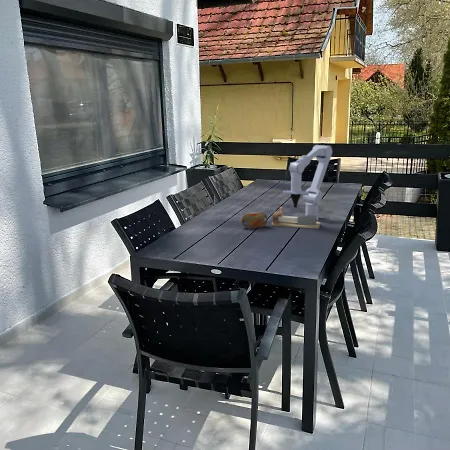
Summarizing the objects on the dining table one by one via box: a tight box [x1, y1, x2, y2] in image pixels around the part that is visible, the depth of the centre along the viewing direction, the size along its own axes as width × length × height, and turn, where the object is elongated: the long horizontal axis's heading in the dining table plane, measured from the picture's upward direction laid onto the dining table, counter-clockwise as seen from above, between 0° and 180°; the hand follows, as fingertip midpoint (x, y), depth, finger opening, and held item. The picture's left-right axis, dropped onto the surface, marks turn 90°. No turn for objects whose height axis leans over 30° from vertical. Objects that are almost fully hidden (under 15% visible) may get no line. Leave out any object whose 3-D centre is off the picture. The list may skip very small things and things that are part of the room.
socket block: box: [272, 211, 280, 224], centre depth 266 cm, size 7×3×5 cm, turn 165°
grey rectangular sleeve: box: [297, 214, 317, 225], centre depth 262 cm, size 5×10×4 cm, turn 75°
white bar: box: [278, 206, 298, 222], centre depth 264 cm, size 3×16×8 cm, turn 75°
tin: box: [240, 211, 268, 229], centre depth 260 cm, size 15×3×8 cm, turn 105°
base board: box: [270, 221, 321, 229], centre depth 264 cm, size 10×26×1 cm, turn 75°
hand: (295, 207), depth 264 cm, fingers closed
